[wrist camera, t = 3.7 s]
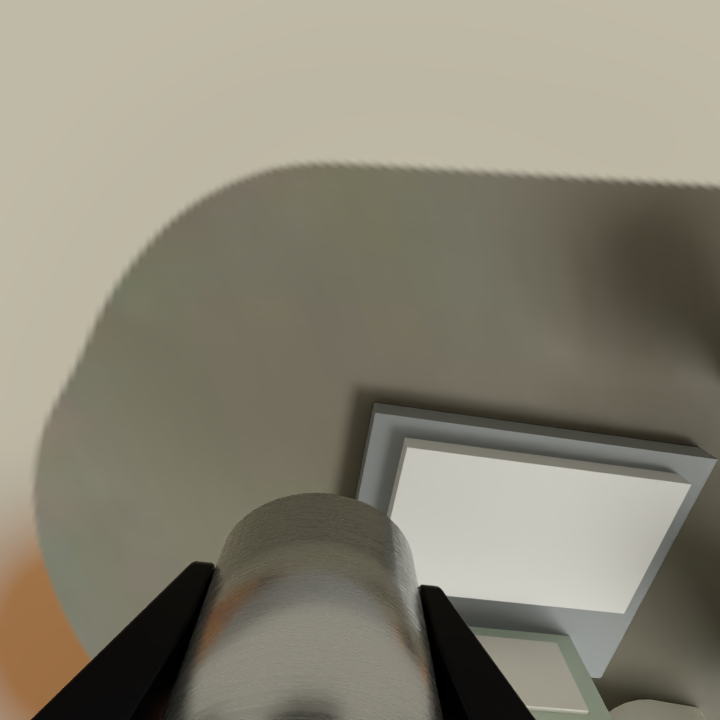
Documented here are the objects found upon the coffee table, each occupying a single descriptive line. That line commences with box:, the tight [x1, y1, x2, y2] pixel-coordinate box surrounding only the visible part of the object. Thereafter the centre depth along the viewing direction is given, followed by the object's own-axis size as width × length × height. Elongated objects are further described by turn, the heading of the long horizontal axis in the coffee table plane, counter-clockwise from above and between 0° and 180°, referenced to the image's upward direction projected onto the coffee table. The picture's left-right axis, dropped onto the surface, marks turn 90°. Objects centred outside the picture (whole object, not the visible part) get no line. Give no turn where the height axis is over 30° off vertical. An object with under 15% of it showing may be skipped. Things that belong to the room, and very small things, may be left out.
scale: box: [355, 403, 718, 720], centre depth 20 cm, size 16×15×5 cm
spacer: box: [161, 493, 443, 720], centre depth 7 cm, size 4×4×4 cm
